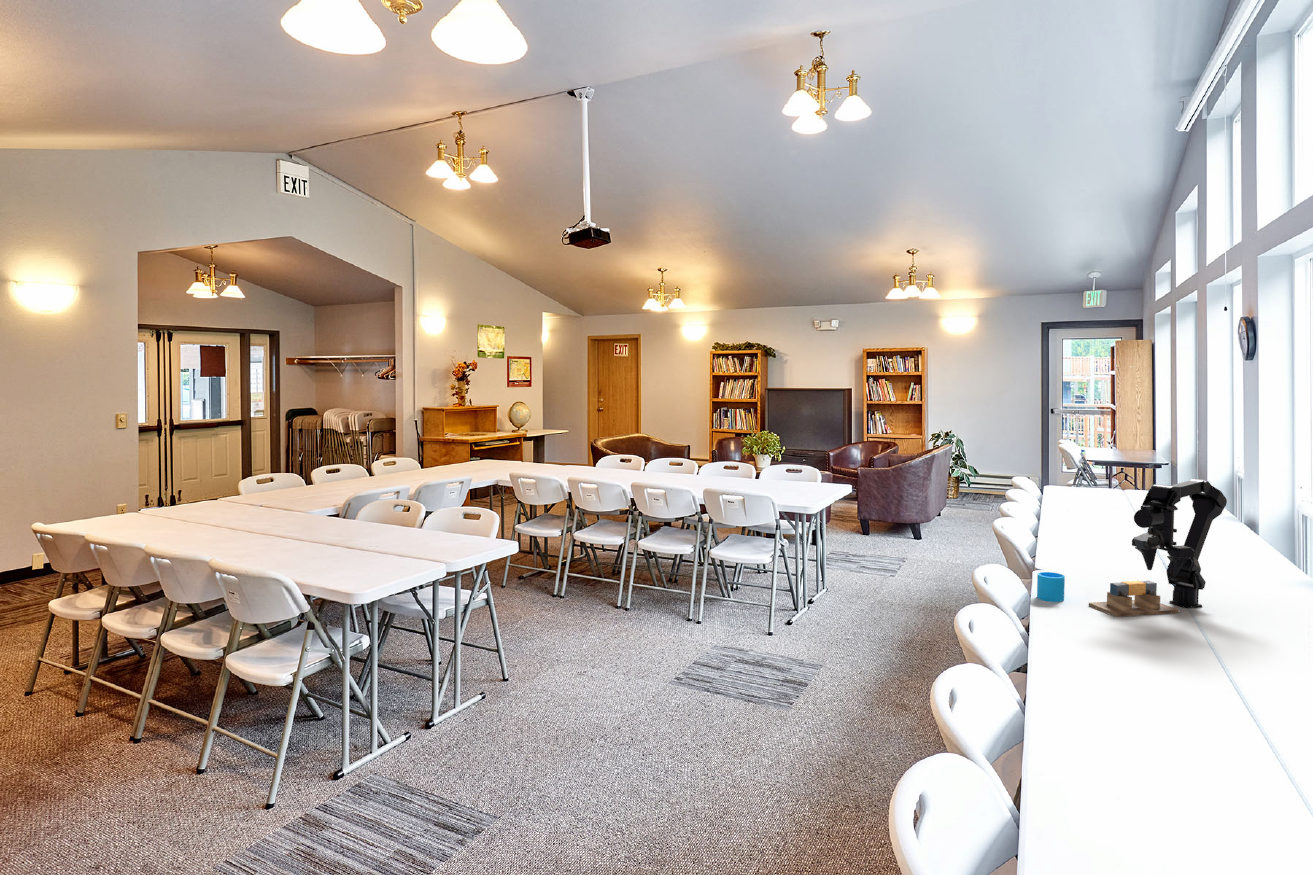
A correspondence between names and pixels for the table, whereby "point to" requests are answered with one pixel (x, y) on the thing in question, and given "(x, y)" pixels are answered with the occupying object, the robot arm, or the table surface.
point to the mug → (1050, 586)
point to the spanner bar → (1133, 588)
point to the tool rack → (1133, 605)
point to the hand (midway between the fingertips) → (1161, 573)
